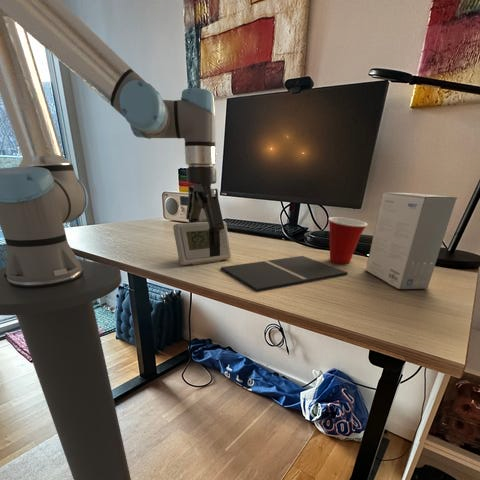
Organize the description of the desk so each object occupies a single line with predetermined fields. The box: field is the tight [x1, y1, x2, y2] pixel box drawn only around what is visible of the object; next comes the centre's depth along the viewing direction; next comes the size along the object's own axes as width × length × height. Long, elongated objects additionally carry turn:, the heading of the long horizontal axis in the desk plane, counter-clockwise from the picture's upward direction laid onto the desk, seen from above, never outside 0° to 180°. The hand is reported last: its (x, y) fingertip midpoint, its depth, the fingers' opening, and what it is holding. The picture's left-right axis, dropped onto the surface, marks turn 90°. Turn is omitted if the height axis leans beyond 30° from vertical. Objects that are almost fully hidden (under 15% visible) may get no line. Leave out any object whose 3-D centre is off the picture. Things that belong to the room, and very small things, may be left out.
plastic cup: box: [328, 216, 368, 265], centre depth 87 cm, size 11×11×12 cm
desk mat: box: [220, 255, 348, 292], centre depth 79 cm, size 28×18×1 cm, turn 119°
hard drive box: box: [365, 192, 458, 290], centre depth 71 cm, size 16×8×20 cm, turn 8°
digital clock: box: [172, 220, 232, 266], centre depth 84 cm, size 16×9×11 cm, turn 110°
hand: (204, 250), depth 85 cm, fingers open, 13 cm apart
